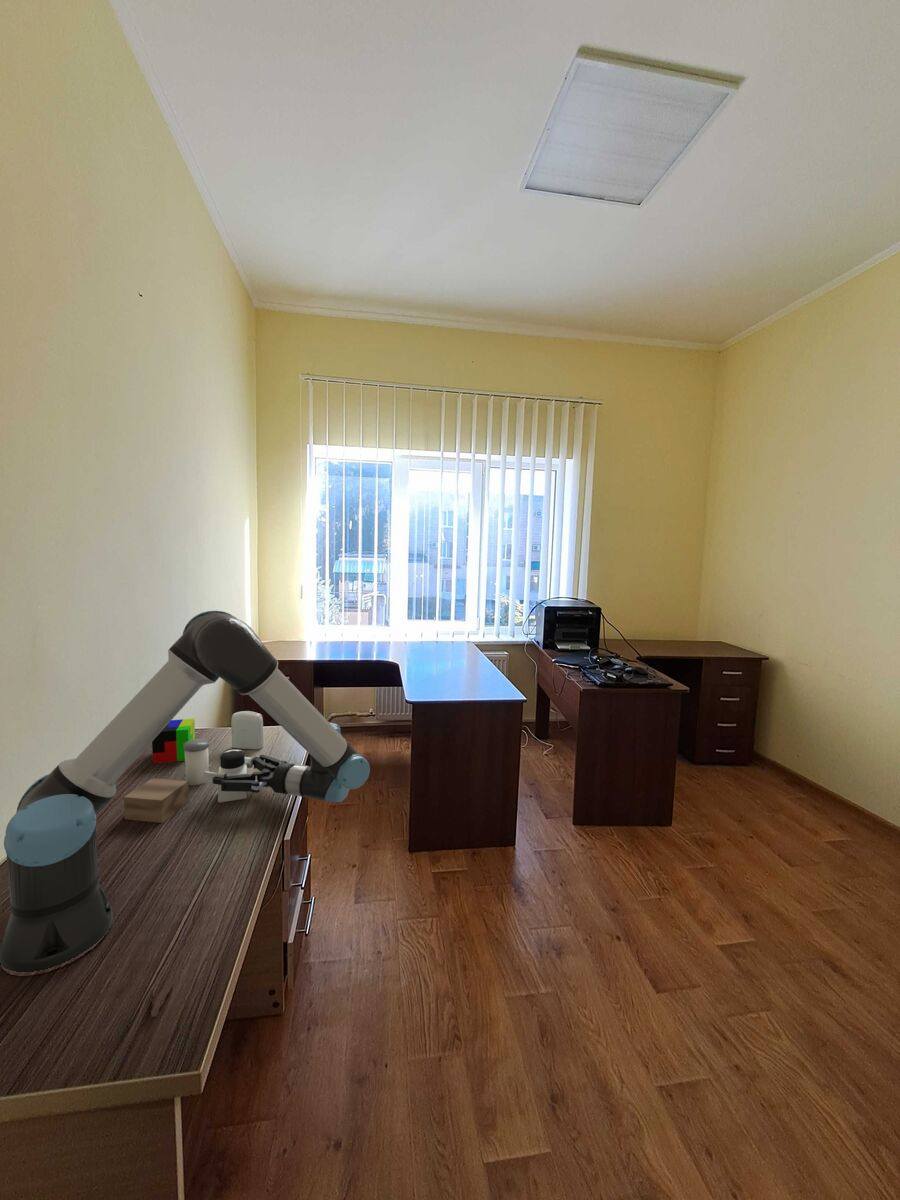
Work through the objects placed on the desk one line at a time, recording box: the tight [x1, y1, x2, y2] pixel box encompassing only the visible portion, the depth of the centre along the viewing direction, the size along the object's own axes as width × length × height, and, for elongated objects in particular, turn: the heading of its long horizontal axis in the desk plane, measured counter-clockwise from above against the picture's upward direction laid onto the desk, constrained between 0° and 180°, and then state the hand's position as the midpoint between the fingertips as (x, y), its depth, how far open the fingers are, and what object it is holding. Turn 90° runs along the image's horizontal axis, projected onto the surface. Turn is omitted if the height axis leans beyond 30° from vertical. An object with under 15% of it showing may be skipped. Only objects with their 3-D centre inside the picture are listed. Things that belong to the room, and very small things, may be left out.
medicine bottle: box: [217, 749, 248, 804], centre depth 133 cm, size 7×7×12 cm
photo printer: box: [230, 710, 264, 750], centre depth 163 cm, size 10×4×12 cm, turn 85°
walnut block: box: [123, 777, 190, 824], centre depth 125 cm, size 10×10×6 cm
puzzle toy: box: [151, 718, 196, 764], centre depth 156 cm, size 10×10×10 cm
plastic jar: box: [184, 738, 210, 786], centre depth 140 cm, size 6×6×11 cm
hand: (218, 767), depth 134 cm, fingers closed on medicine bottle, 10 cm apart
